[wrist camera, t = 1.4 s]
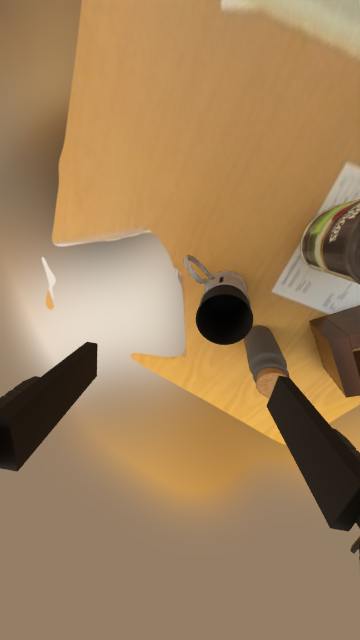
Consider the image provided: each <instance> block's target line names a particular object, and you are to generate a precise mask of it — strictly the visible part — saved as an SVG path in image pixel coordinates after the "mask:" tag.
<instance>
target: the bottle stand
mask: <svg viewBox="0 0 360 640" xmlns="http://www.w3.org/2000/svg"><path fill="white" fill-rule="evenodd" d="M309 323H310V326H311V329H312V332H313V335H314V338H315V341H316V344H317V347H318V350H319V353H320V356H321V359H322V362H323V365H324V368H325V370H326V371H327V373H328V374H329V375H330V377H331V378H332V379H333V381H334V382H335V383H336V385H337V386H338V387H339V389H340V390H341V391H342V393H343V394H344V395H345V396H346V397H353V396H359V395H360V351H357V352H352V349H355V348H359V347H360V306H357V307H353V308H350V309H347V310H344V311H341V312H337V313H334V314H331V315H328V316H325V317H321V318H318V319H315V320H311V321H309Z"/></svg>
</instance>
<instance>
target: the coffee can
mask: <svg viewBox="0 0 360 640" xmlns="http://www.w3.org/2000/svg"><path fill="white" fill-rule="evenodd" d="M300 251H301V255H302V258H303V260H304V261H305V262H306V264H307V265H309V266H310V267H311V268H313V269H316V270H319V271H323V272H326V273H329V274H332V275H335V276H338V277H341V278H344V279H347V280H350V281H353V282H355V283H358V284H360V199H359V200H355V201H352V202H349V203H345V204H341V205H337V206H334V207H331V208H329V209H327V210H325V211H323V212H322V213H320V214H319V215H318V216H316V217H315V218H314V219H313V220H312V221H311V222H310V224H309V225H308V226H307V228H306V230H305V231H304V234H303V236H302V239H301V243H300Z"/></svg>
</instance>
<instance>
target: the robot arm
mask: <svg viewBox="0 0 360 640" xmlns="http://www.w3.org/2000/svg"><path fill="white" fill-rule="evenodd" d="M96 376H97V344H96V343H91V342H86V343H85V344H84V345H82V346H81V347H80V348H78V349H77V350H76V351H74V352H73V353H72V354H70V355H69V356H68V357H66V358H65V359H64V360H63V361H62V362H60V363H59V364H58V365H56V366H55V367H54V368H52V369H51V370H50V371H48V372H47V373H46V374H44V375H43V376H42V377H36V376H35V377H32V378H30V379H28V380H26V381H23V382H22V383H21V384H19V385H18V386H16V387H15V388H14V389H13V390H11V391H9V392H8V393H6V394H5V396H2V397H1V398H0V468H2V469H8V470H13V471H18V470H19V469H20V468H21V467H22V466H23V464H24V463H25V462H26V461H27V459H28V458H29V457H30V456H31V455H32V453H33V452H34V451H35V450H36V448H37V447H38V446H39V445H40V444H41V443H42V441H43V440H44V439H45V438H46V437H47V435H48V434H49V433H50V432H51V431H52V429H53V428H54V427H55V426H56V425H57V423H58V422H59V421H60V420H61V418H62V417H63V416H64V415H65V414H66V412H67V411H68V410H69V409H70V407H71V406H72V405H73V404H74V403H75V402H76V400H77V399H78V398H79V396H81V394H82V393H83V392H84V391H85V390H86V388H87V387H88V386H89V385H90V384H91V382H92V381H93V380H94V379H95V377H96ZM267 408H268V410H269V412H270V414H271V416H272V417H273V419H274V421H275V423H276V425H277V427H278V429H279V431H280V433H281V435H282V437H283V439H284V440H285V442H286V444H287V446H288V448H289V449H290V452H291V454H292V456H293V458H294V460H295V461H296V463H297V465H298V467H299V469H300V471H301V473H302V475H303V477H304V478H305V481H306V483H307V485H308V486H309V488H310V490H311V492H312V494H313V496H314V498H315V500H316V502H317V504H318V506H319V507H320V509H321V511H322V513H323V515H324V517H325V519H326V521H327V523H328V525H329V527H330V528H333V529H338V530H344V531H349V530H350V529H351V528H352V526H353V525H354V524H355V523H357V525H358V526H359V528H360V453H359V451H357V450H356V448H355V447H354V446H353V445H352V444H351V442H350V441H349V440H348V439H347V438H346V437H345V436H343V435H342V434H341V433H340V432H338V431H337V430H336V429H333V428H332V427H331V426H330V425H329V424H328V423H327V421H326V420H325V419H324V418H323V417H322V415H321V414H320V413H319V412H318V411H317V410H316V408H315V407H314V406H313V405H312V404H311V403H310V401H309V400H308V399H307V398H306V397H305V395H304V394H303V393H302V392H301V391H300V390H299V388H298V387H297V386H296V385H295V384H294V382H293V381H292V380H291V379H290V378H289V377H284V376H278V378H277V381H276V383H275V386H274V389H273V391H272V394H271V396H270V399H269V401H268V404H267ZM358 549H359V552H360V537H359V538H358V539H357V541H356V542H355V543H354V544H353V545H352V547H351V552H353V553H355V552H356V551H357V550H358ZM359 558H360V557H359Z"/></svg>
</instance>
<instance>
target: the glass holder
mask: <svg viewBox="0 0 360 640" xmlns="http://www.w3.org/2000/svg"><path fill="white" fill-rule="evenodd" d="M189 260H191V261H192V262H194V263H195V264H196V265H197V266H198V267H199V268H200V269H201V270H202V271H203V272H204V273H205V274H206V275H207V276H208V277H209V279H208V280H207V279H206V278H205V279H201V278H200V277H199V276H198V275H197V273H196V272H195V271H194V269H193V268H192V266H191V264H190V262H189ZM184 264H185V266H186V268H187V270H188V271H189V273H190V274H191V276H192V277H193V278H194V279H195V280H196V281H197V282H198V283H200V284H202V283H204V284H205V287H204V294H203V296H202V298H201V301H200V306H199V308H198V311H197V314H196V324H197V327H198V330H199V331H200V333H201V334H202V335H203V336H204V337H205V338H206V339H207V340H209V341H211V342H213V343H216V344H220V345H229V344H234V343H236V342H239V341H240V340H242V339H243V338H245V337H246V336H247V334H248V333H249V332H250V330H251V328H252V325H253V314H252V311H251V308H250V301H249V298H248V295H247V286H246V283H245V281H244V279H243V278H242V277H241V276H240V275H239V274H237V273H235V272H232V271H220V272H218V273H215V274H214V275H212V274H211V273H210V272H209V271H208V270H207V269H206V268H205V267H204V266H203V265H202V264H201V263H200V262H199V261H198V260H197V259H196V258H194V257H193V256H191V255H188V256H186V257H185V258H184Z"/></svg>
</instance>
